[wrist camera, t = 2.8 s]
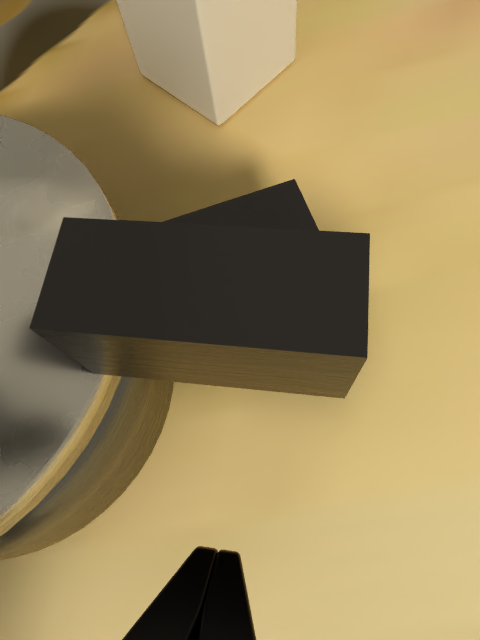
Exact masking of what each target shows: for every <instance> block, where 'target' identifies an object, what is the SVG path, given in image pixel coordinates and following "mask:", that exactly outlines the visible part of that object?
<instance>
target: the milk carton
mask: <svg viewBox="0 0 480 640" xmlns="http://www.w3.org/2000/svg"><path fill="white" fill-rule="evenodd" d="M116 1H117V4H118V7H119V10H120V13H121V16H122V19H123V22H124V25H125V28H126V31H127V34H128V37H129V40H130V43H131V46H132V49H133V52H134V55H135V58H136V61H137V64H138V67H139V70H140V73H141V74H142V75H143V76H145V77H146V78H148V79H149V80H151V81H152V82H153V83H155V84H156V85H158V86H159V87H161V88H162V89H164V90H165V91H167V92H168V93H170V94H171V95H173V96H174V97H176V98H177V99H179V100H180V101H182V102H183V103H185V104H186V105H188V106H189V107H191V108H192V109H194V110H195V111H197V112H198V113H200V114H201V115H203V116H204V117H206V118H207V119H209V120H210V121H212V122H213V123H215V124H216V125H221V124H222V123H223V122H225V121H226V120H227V119H228V118H229V117H230V116H231V115H233V114H234V113H235V112H236V111H237V110H238V109H239V108H241V107H242V106H243V105H244V104H245V103H246V102H247V101H249V100H250V99H251V98H252V97H253V96H254V95H255V94H257V93H258V92H259V91H260V90H261V89H262V88H263V87H265V86H266V85H267V84H268V83H269V82H270V81H271V80H272V79H274V78H275V77H276V76H277V75H278V74H279V73H280V72H282V71H283V70H284V69H285V68H286V67H287V66H288V65H290V64H291V63H292V62H293V61H294V59H295V43H296V3H297V0H116Z"/></svg>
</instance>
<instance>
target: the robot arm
mask: <svg viewBox="0 0 480 640" xmlns="http://www.w3.org/2000/svg"><path fill="white" fill-rule="evenodd" d="M122 640H256V636H255V631H254V626H253V621H252V615H251V610H250V605H249V599H248V594H247V589H246V583H245V578H244V573H243V568H242V562H241V557H240V554H239V553H238V552H235V551H228V550H220V551H219V552H218V551H217V549H215V548H209V547H202V546H199V547H197V548H196V549H195V550H194V551H193V552H192V553H191V554H190V556H189V557H188V558H187V559H186V561H185V562H184V563H183V564H182V566H181V567H180V568H179V569H178V571H177V572H176V573H175V574H174V576H173V577H172V578H171V579H170V581H169V582H168V583H167V584H166V586H165V587H164V588H163V589H162V591H161V592H160V593H159V594H158V596H157V597H156V598H155V599H154V601H153V602H152V603H151V604H150V606H149V607H148V608H147V609H146V611H145V612H144V613H143V614H142V616H141V617H140V618H139V619H138V621H137V622H136V623H135V624H134V626H133V627H132V628H131V629H130V631H129V632H128V633H127V634H126V636H125V637H124V638H123V639H122Z"/></svg>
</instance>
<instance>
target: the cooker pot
mask: <svg viewBox="0 0 480 640" xmlns="http://www.w3.org/2000/svg"><path fill="white" fill-rule="evenodd" d="M164 223H182V224H201V225H219V226H238V227H257V228H275V229H294V230H313V231H319V230H318V228H317V226H316V223H315V221H314V219H313V217H312V215H311V213H310V211H309V209H308V206H307V204H306V202H305V200H304V198H303V196H302V194H301V192H300V189H299V187H298V185H297V183H296V181H295V179H293V180H290V181H287V182H284V183H281V184H278V185H275V186H272V187H268V188H265V189H262V190H259V191H256V192H253V193H250V194H247V195H244V196H241V197H238V198H235V199H232V200H229V201H226V202H222V203H219V204H216V205H213V206H210V207H207V208H204V209H201V210H198V211H195V212H192V213H189V214H186V215H183V216H180V217H176V218H173V219H170V220H167V221H164ZM173 383H174V382H173V381H163V380H153V379H143V378H133V377H123V376H122V377H121V379H120V382H119V384H118V386H117V389H116V391H115V393H114V396H113V398H112V400H111V403H110V405H109V407H108V410H107V412H106V413H105V415H104V417H103V419H102V420H101V422H100V424H99V426H98V427H97V429H96V431H95V433H94V434H93V436H92V438H91V440H90V441H89V443H88V444H87V446H86V447H85V449H84V450H83V451H82V453H81V454H80V455H79V457H78V458H77V460H76V461H75V462H74V464H73V465H72V466H71V468H70V469H69V470H68V472H67V473H66V475H65V476H64V477H63V478H62V479H61V480H60V481H59V482H58V483H57V484H56V485H55V487H54V488H53V489H52V490H51V491H50V492H49V493H48V494H47V495H46V496H45V497H44V499H43V500H42V501H41V502H40V503H39V504H38V505H37V506H36V507H35V508H34V509H32V510H31V511H30V512H29V513H28V514H27V515H25V516H24V517H23V518H22V519H21V520H20V521H19V522H17V523H16V524H15V525H14V526H13V527H12V528H11V529H9V530H8V531H7V532H6V533H4V534H3V535H2V536H0V560H2V559H7V558H13V557H17V556H20V555H24V554H28V553H31V552H35V551H38V550H41V549H43V548H45V547H48V546H50V545H52V544H55V543H57V542H59V541H61V540H63V539H65V538H67V537H68V536H70V535H72V534H73V533H75V532H77V531H78V530H80V529H82V528H83V527H85V526H86V525H87V524H89V523H90V522H91V521H93V520H94V519H95V518H96V517H98V516H99V515H100V514H102V513H103V512H104V511H105V510H106V509H107V508H108V507H109V506H110V505H111V504H112V503H113V502H114V501H115V500H116V499H117V498H118V497H119V496H121V495H122V493H123V492H124V491H125V490H126V488H127V487H128V486H129V485H130V484H131V482H132V481H133V480H134V479H135V477H136V476H137V475H138V473H139V472H140V470H141V469H142V467H143V465H144V464H145V462H146V461H147V459H148V457H149V456H150V454H151V453H152V450H153V448H154V446H155V444H156V442H157V440H158V438H159V436H160V434H161V431H162V428H163V425H164V422H165V419H166V416H167V413H168V410H169V406H170V401H171V396H172V391H173Z"/></svg>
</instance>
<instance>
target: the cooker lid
mask: <svg viewBox="0 0 480 640" xmlns="http://www.w3.org/2000/svg"><path fill="white" fill-rule="evenodd" d="M369 248H370V234H369V233H350V232H331V231H313V230H294V229H275V228H257V227H238V226H219V225H201V224H182V223H164V222H145V221H126V220H118V219H117V217H116V215H115V213H114V211H113V209H112V207H111V206H110V204H109V202H108V200H107V199H106V197H105V195H104V193H103V192H102V190H101V188H100V186H99V185H98V184H97V182H96V181H95V179H94V178H93V176H92V175H91V174H90V172H89V171H88V169H87V168H86V166H85V165H84V164H83V163H82V162H81V161H80V160H79V159H78V158H77V157H76V156H75V155H74V154H73V153H72V152H71V151H70V150H69V149H68V148H66V147H65V146H64V145H62V144H61V143H59V142H58V141H57V140H55V139H54V138H53V137H51V136H50V135H48V134H46V133H44V132H42V131H40V130H38V129H37V128H35V127H33V126H31V125H29V124H26V123H23V122H20V121H18V120H15V119H12V118H9V117H6V116H2V115H0V536H2V535H3V534H4V533H6V532H7V531H8V530H9V529H11V528H12V527H13V526H14V525H15V524H16V523H17V522H19V521H20V520H21V519H22V518H23V517H24V516H25V515H27V514H28V513H29V512H30V511H31V510H32V509H34V508H35V507H36V506H37V505H38V504H39V503H40V502H41V501H42V500H43V499H44V497H45V496H46V495H47V494H48V493H49V492H50V491H51V490H52V489H53V488H54V487H55V485H56V484H57V483H58V482H59V481H60V480H61V479H62V478H63V477H64V476H65V475H66V473H67V472H68V470H69V469H70V468H71V466H72V465H73V464H74V462H75V461H76V460H77V458H78V457H79V455H80V454H81V453H82V451H83V450H84V449H85V447H86V446H87V444H88V443H89V441H90V440H91V438H92V436H93V434H94V433H95V431H96V429H97V427H98V426H99V424H100V422H101V420H102V419H103V417H104V415H105V413H106V412H107V410H108V407H109V405H110V403H111V400H112V398H113V396H114V393H115V391H116V389H117V386H118V384H119V382H120V379H121V377H122V376H123V377H133V378H143V379H153V380H163V381H173V382H184V383H194V384H204V385H214V386H224V387H234V388H244V389H255V390H265V391H275V392H285V393H295V394H305V395H315V396H326V397H336V398H345V397H346V395H347V393H348V391H349V390H350V388H351V386H352V384H353V382H354V381H355V379H356V377H357V375H358V374H359V372H360V370H361V368H362V366H363V365H364V363H365V361H366V359H367V346H368V297H369Z"/></svg>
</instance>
